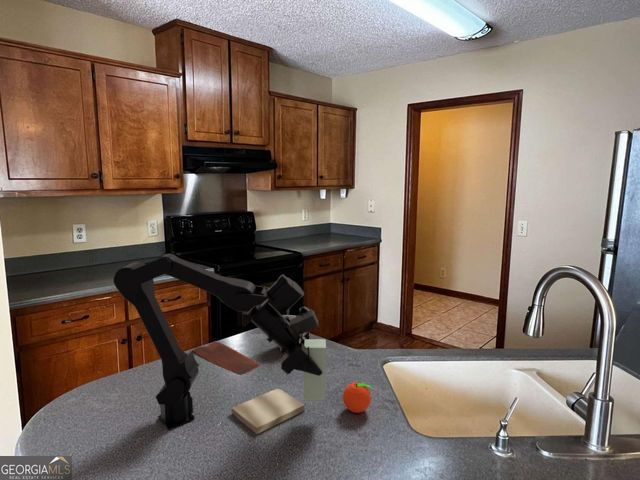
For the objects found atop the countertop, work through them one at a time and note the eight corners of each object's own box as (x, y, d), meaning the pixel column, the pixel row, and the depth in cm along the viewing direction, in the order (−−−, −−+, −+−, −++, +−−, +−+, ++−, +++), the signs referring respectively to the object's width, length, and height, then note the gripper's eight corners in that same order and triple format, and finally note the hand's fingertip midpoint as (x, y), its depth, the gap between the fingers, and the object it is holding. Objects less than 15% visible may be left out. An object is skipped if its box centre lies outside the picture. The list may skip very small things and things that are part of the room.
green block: (303, 400, 94) (304, 347, 93) (304, 390, 99) (304, 339, 98) (325, 400, 94) (326, 347, 93) (325, 390, 99) (325, 339, 98)
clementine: (370, 401, 105) (370, 375, 104) (378, 416, 98) (378, 389, 97) (340, 404, 104) (340, 378, 103) (346, 419, 97) (346, 392, 96)
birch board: (257, 434, 91) (257, 428, 91) (232, 413, 99) (231, 407, 99) (304, 410, 101) (304, 404, 100) (278, 393, 109) (277, 388, 109)
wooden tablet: (190, 352, 136) (189, 348, 136) (215, 343, 143) (215, 339, 143) (237, 379, 118) (237, 373, 118) (264, 367, 125) (264, 362, 125)
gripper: (296, 313, 84) (348, 363, 86) (299, 289, 103) (342, 331, 105) (259, 350, 85) (311, 398, 87) (268, 319, 104) (311, 360, 106)
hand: (320, 368), depth 96 cm, fingers closed on green block, 5 cm apart
